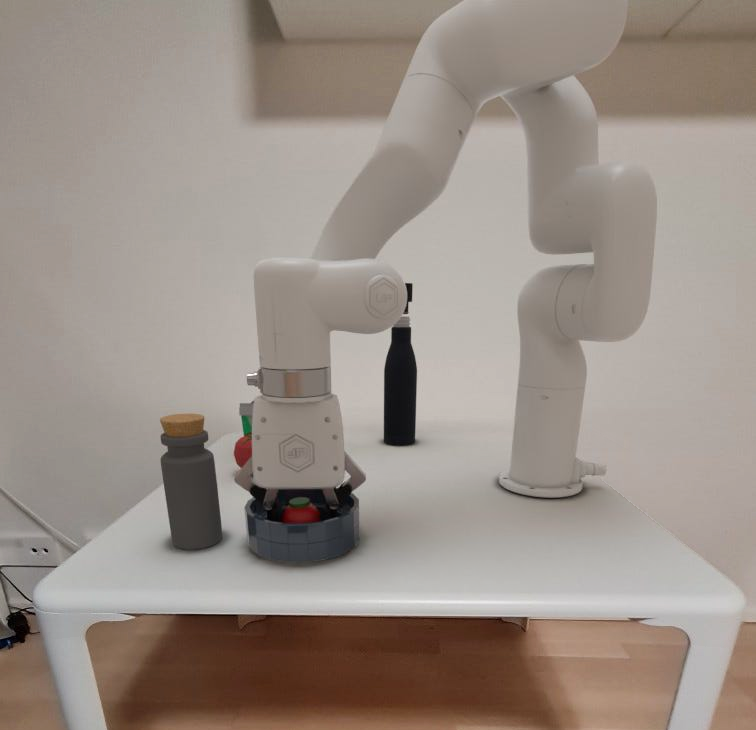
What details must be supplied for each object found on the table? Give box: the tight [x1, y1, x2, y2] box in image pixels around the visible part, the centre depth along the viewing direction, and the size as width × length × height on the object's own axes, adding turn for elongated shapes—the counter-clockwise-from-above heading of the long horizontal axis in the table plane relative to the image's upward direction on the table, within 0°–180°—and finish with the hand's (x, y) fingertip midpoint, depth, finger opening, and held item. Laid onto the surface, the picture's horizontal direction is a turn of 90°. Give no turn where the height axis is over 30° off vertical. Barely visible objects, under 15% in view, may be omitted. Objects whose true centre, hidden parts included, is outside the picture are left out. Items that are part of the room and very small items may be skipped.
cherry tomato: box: [282, 497, 321, 523], centre depth 64 cm, size 5×5×5 cm
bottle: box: [159, 413, 223, 551], centre depth 63 cm, size 6×6×15 cm
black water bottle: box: [383, 282, 418, 447], centre depth 105 cm, size 6×6×30 cm
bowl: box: [244, 489, 361, 563], centre depth 65 cm, size 13×13×5 cm
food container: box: [238, 400, 254, 436], centre depth 102 cm, size 12×6×10 cm, turn 168°
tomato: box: [233, 434, 253, 475], centre depth 90 cm, size 8×8×8 cm
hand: (303, 535), depth 65 cm, fingers open, 5 cm apart
